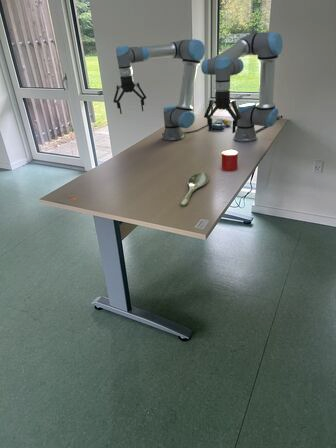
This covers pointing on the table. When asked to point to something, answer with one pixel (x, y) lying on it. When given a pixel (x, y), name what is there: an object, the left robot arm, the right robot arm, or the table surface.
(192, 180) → the spoon
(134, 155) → the table surface
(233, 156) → the canister
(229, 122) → the spray gun
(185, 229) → the table surface
